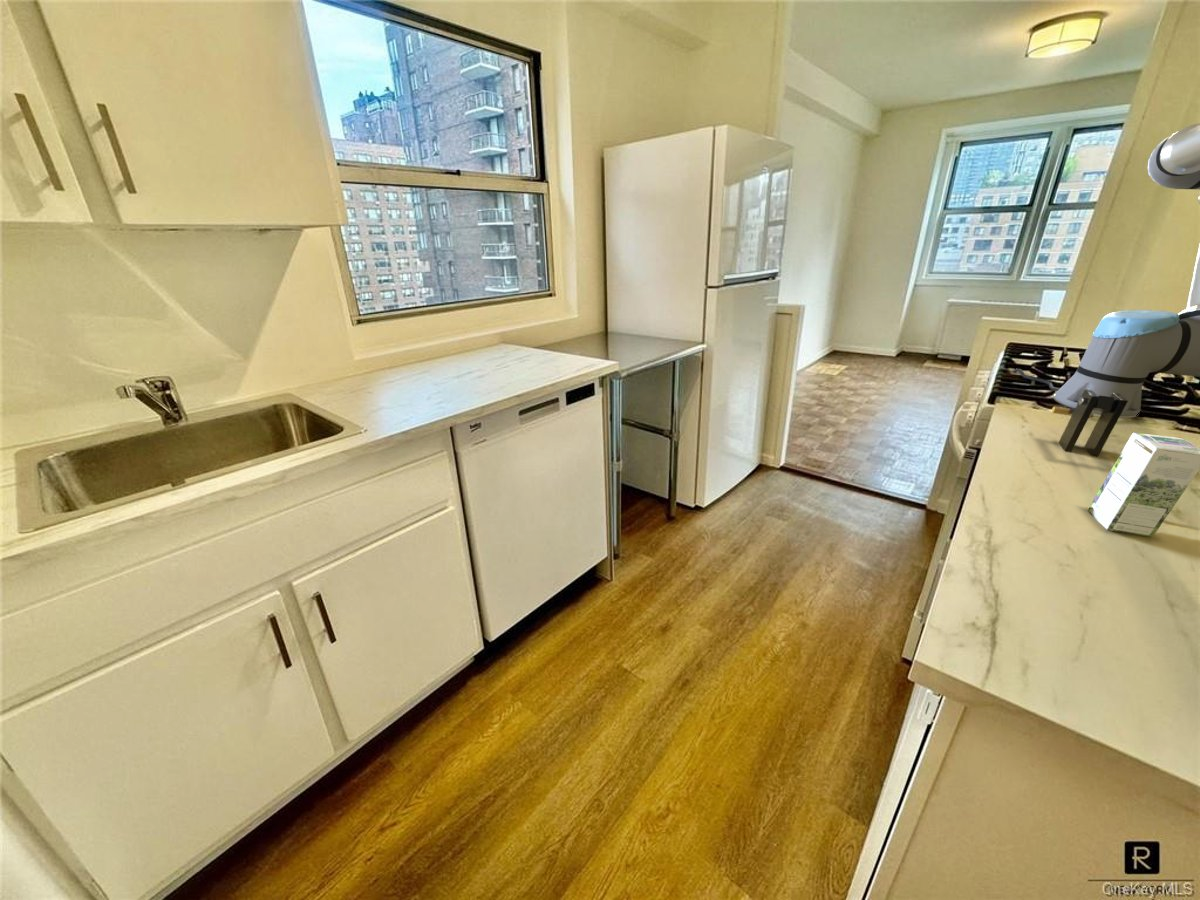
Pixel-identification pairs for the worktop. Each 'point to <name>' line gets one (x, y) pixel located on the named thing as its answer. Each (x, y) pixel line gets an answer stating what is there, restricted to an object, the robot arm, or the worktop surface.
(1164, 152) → the robot arm
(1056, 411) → the tap lever
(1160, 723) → the worktop surface
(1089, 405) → the bracket
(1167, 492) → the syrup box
